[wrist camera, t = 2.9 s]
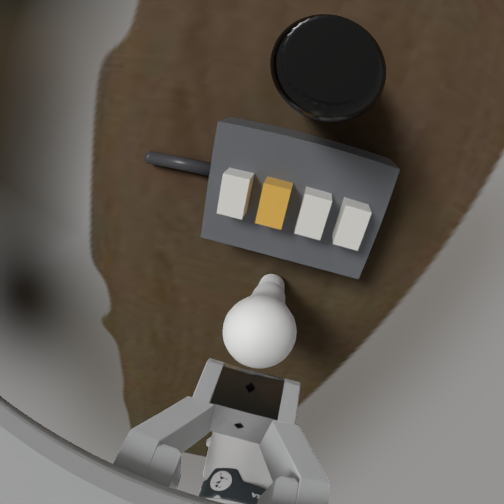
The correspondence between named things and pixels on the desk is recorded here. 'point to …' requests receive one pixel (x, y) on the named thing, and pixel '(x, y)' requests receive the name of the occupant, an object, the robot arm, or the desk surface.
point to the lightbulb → (261, 326)
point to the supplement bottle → (328, 68)
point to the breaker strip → (291, 194)
